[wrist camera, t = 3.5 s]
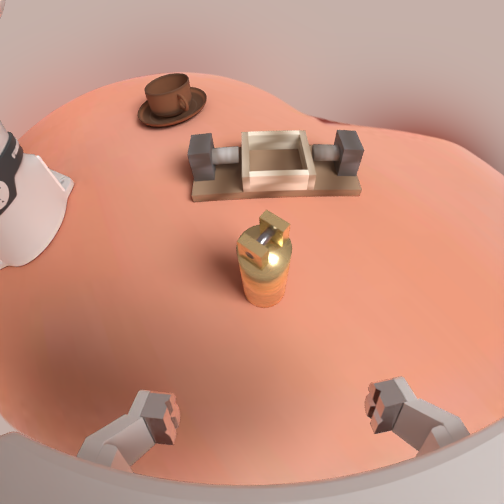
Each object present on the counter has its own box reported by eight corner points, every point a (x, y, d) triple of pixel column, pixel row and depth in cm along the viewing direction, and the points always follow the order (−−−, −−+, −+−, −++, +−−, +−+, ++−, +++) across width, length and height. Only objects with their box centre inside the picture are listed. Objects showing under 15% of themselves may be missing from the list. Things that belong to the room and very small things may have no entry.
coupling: (235, 291, 28) (221, 237, 19) (260, 262, 29) (258, 199, 20) (268, 315, 26) (270, 271, 18) (293, 284, 28) (305, 227, 19)
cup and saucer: (221, 101, 44) (217, 71, 39) (177, 139, 40) (167, 107, 34) (171, 91, 48) (165, 65, 42) (127, 126, 43) (116, 98, 37)
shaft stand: (193, 202, 33) (183, 169, 28) (199, 156, 37) (191, 124, 32) (359, 196, 33) (371, 163, 28) (344, 152, 37) (352, 120, 32)
